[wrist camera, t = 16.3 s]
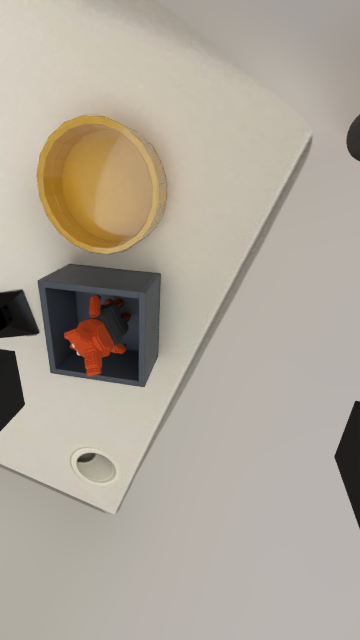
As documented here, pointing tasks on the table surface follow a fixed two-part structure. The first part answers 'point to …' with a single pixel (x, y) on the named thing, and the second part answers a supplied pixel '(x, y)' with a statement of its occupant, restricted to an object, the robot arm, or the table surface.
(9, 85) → the table surface
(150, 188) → the bowl
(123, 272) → the bin
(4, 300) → the build plate
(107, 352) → the toy animal
